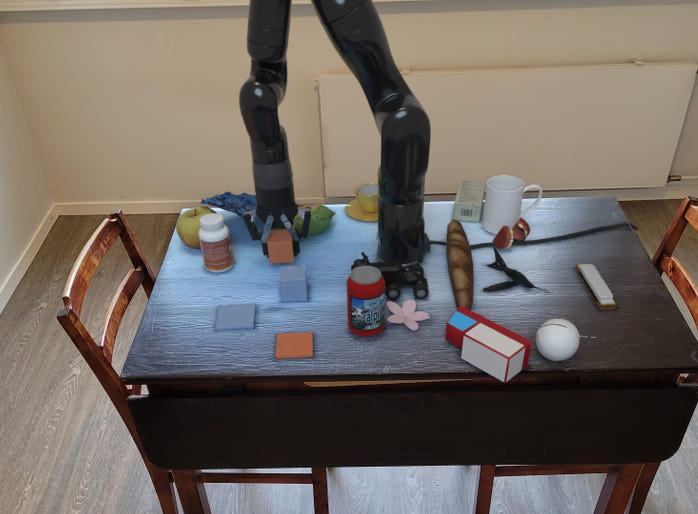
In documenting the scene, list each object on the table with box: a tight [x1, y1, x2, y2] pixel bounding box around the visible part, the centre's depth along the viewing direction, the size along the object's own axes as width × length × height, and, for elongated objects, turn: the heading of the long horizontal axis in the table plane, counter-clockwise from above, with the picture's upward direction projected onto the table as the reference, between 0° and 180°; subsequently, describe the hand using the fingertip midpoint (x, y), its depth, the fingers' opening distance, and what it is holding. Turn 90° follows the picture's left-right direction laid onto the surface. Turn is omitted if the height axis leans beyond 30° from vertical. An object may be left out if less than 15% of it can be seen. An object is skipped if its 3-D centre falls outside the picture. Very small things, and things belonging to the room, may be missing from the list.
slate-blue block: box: [279, 265, 308, 303], centre depth 136 cm, size 5×5×5 cm
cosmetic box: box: [452, 179, 487, 223], centre depth 162 cm, size 6×4×12 cm
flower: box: [385, 298, 431, 331], centre depth 130 cm, size 10×10×2 cm
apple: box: [175, 205, 218, 249], centre depth 151 cm, size 10×10×8 cm
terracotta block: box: [267, 229, 295, 265], centre depth 144 cm, size 5×5×5 cm
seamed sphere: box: [534, 318, 597, 362], centre depth 118 cm, size 10×7×7 cm
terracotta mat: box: [275, 331, 314, 360], centre depth 125 cm, size 6×6×1 cm
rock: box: [200, 191, 261, 221], centre depth 155 cm, size 15×17×2 cm
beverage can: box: [346, 266, 386, 338], centre depth 125 cm, size 7×7×12 cm
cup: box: [344, 182, 378, 222], centre depth 162 cm, size 12×12×5 cm
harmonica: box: [575, 263, 617, 310], centre depth 136 cm, size 15×3×2 cm, turn 4°
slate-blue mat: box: [215, 303, 257, 331], centre depth 132 cm, size 7×7×1 cm
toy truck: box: [444, 306, 533, 383], centre depth 120 cm, size 6×15×7 cm
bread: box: [445, 219, 475, 311], centre depth 142 cm, size 38×5×5 cm, turn 177°
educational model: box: [274, 201, 336, 237], centre depth 156 cm, size 13×16×5 cm
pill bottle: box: [198, 212, 235, 274], centre depth 143 cm, size 6×6×11 cm
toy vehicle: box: [350, 251, 430, 301], centre depth 136 cm, size 8×15×9 cm, turn 93°
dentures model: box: [491, 216, 531, 250], centre depth 149 cm, size 6×4×8 cm
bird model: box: [482, 246, 546, 292], centre depth 139 cm, size 5×12×10 cm
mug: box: [481, 174, 543, 235], centre depth 153 cm, size 12×8×10 cm, turn 91°
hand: (282, 254), depth 146 cm, fingers closed on terracotta block, 5 cm apart
